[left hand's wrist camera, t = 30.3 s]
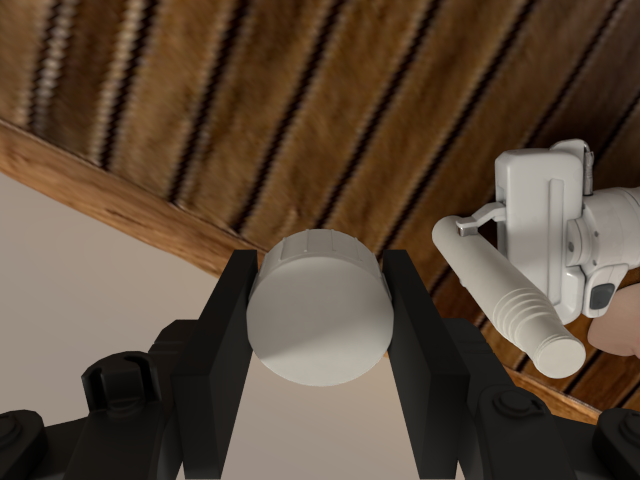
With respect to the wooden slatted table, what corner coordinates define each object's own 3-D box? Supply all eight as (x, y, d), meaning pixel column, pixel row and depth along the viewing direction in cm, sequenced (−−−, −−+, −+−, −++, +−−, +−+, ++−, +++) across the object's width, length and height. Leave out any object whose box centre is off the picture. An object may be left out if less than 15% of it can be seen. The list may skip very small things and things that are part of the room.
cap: (297, 201, 13) (293, 225, 11) (410, 268, 14) (427, 303, 12) (232, 305, 15) (216, 346, 12) (339, 362, 16) (343, 409, 13)
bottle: (471, 215, 50) (604, 328, 27) (467, 250, 52) (589, 386, 28) (433, 215, 51) (532, 330, 27) (430, 251, 52) (522, 388, 29)
